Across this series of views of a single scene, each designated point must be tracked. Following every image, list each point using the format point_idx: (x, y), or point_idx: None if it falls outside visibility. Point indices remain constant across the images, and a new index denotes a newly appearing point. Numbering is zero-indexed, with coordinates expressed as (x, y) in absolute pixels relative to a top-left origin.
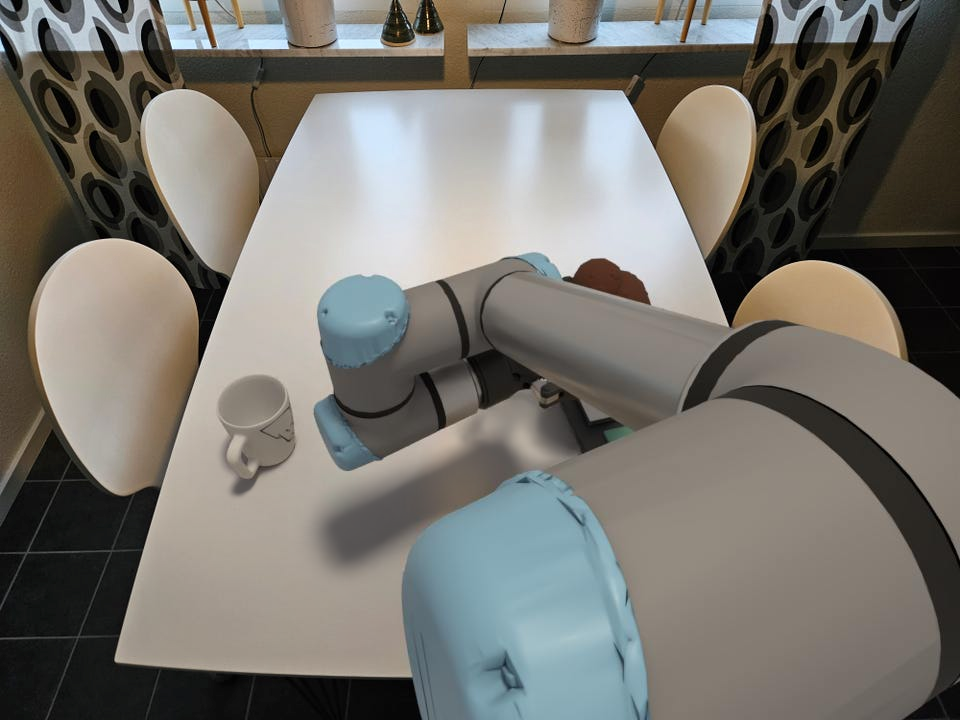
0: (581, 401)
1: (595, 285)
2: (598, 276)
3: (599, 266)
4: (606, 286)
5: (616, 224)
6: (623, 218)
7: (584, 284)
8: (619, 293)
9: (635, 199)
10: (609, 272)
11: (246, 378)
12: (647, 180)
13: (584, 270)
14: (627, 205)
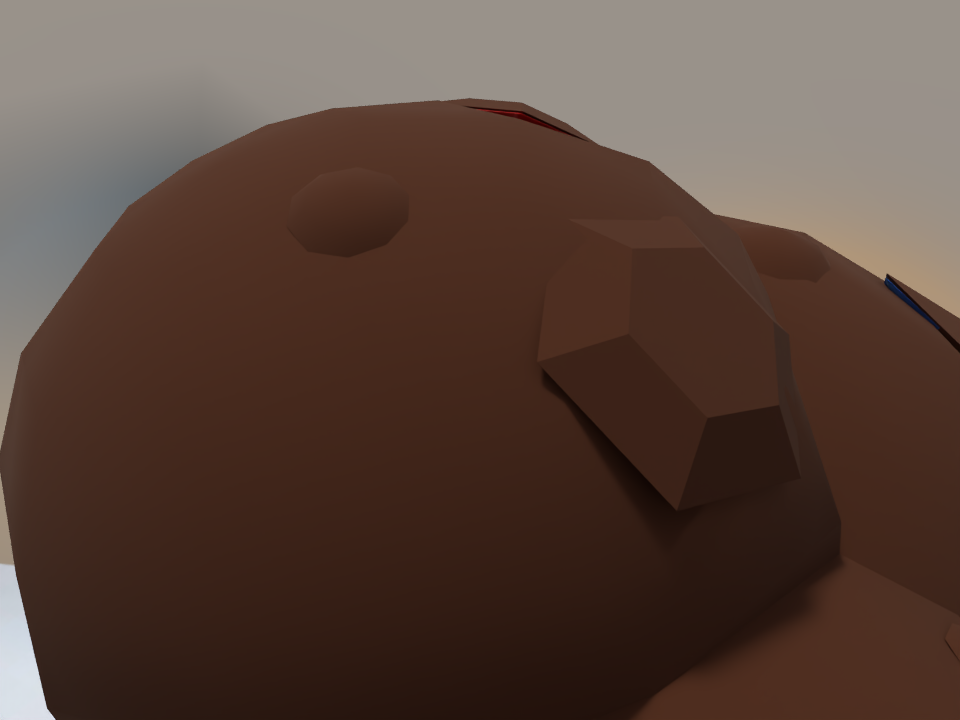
0: None
1: (557, 273)
2: (450, 158)
3: (305, 119)
4: (662, 211)
5: (18, 711)
6: (26, 686)
7: (374, 418)
8: (764, 271)
9: (19, 634)
10: (483, 107)
11: None
12: (13, 590)
13: (144, 297)
14: (9, 658)
